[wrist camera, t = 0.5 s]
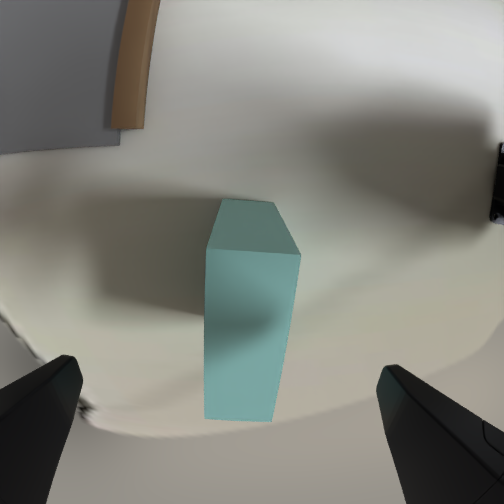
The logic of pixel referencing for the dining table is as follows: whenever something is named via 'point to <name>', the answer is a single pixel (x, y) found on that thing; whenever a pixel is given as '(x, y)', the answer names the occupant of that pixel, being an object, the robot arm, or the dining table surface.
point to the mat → (58, 73)
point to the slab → (247, 309)
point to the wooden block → (134, 64)
